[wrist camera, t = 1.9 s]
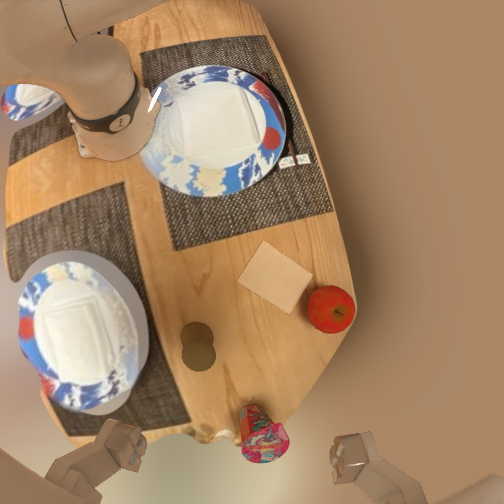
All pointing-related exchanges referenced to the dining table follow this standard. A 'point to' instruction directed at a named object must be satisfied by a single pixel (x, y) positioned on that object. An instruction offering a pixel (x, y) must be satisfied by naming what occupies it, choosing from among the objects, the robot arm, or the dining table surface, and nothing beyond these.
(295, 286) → the napkin
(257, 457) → the cup
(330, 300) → the apple
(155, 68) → the dining table surface
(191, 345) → the pepper shaker
